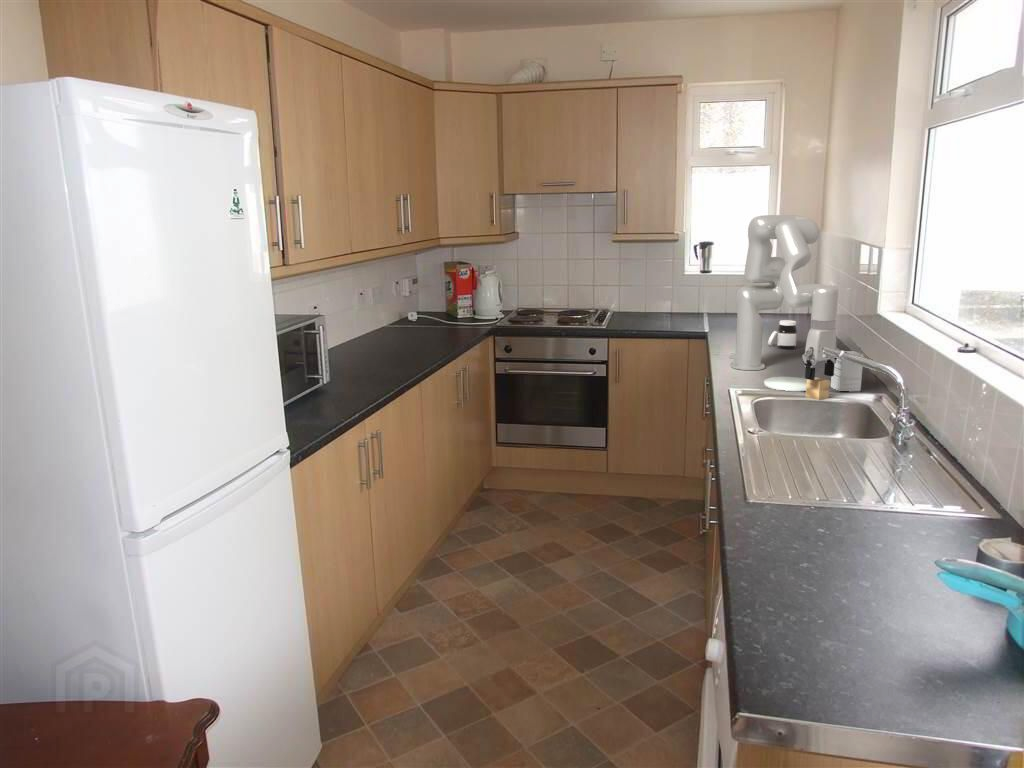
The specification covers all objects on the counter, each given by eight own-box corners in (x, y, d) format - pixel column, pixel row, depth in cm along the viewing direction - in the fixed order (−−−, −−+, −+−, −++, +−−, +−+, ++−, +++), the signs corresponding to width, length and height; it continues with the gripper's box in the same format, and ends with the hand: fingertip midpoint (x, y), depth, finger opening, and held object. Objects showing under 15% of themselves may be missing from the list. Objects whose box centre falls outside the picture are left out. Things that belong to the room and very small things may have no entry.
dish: (752, 384, 270) (753, 381, 269) (786, 377, 279) (787, 374, 279) (795, 394, 255) (795, 391, 254) (829, 387, 264) (830, 384, 264)
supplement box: (850, 386, 265) (854, 350, 262) (860, 391, 258) (864, 354, 255) (829, 386, 265) (832, 351, 262) (839, 392, 258) (842, 355, 255)
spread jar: (797, 350, 327) (799, 323, 324) (769, 349, 329) (771, 322, 327) (792, 345, 339) (794, 318, 336) (766, 344, 341) (767, 318, 338)
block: (805, 397, 252) (806, 379, 251) (815, 394, 255) (816, 377, 253) (818, 400, 248) (820, 382, 247) (828, 398, 251) (829, 380, 249)
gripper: (829, 321, 253) (826, 372, 257) (795, 326, 244) (792, 378, 248) (850, 324, 247) (846, 376, 251) (815, 329, 238) (812, 383, 242)
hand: (819, 377), depth 249 cm, fingers open, 9 cm apart
